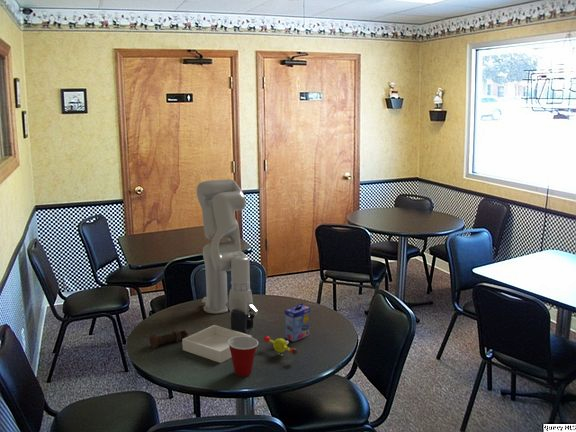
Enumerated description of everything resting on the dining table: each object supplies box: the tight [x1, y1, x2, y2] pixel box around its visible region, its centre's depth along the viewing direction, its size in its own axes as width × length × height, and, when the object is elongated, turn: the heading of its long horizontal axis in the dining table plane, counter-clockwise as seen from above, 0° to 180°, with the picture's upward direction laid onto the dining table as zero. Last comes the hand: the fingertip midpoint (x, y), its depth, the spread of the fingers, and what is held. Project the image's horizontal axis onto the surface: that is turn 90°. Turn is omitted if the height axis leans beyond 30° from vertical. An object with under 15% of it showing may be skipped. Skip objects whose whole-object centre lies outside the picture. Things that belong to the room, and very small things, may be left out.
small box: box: [230, 309, 252, 335], centre depth 243 cm, size 11×6×10 cm, turn 167°
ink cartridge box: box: [284, 302, 311, 342], centre depth 237 cm, size 10×6×14 cm, turn 137°
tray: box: [181, 324, 253, 364], centre depth 228 cm, size 20×18×4 cm
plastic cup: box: [228, 336, 259, 377], centre depth 206 cm, size 11×11×12 cm
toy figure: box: [263, 335, 298, 357], centre depth 220 cm, size 18×6×7 cm, turn 42°
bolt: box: [149, 329, 189, 349], centre depth 233 cm, size 6×5×15 cm
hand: (241, 325), depth 243 cm, fingers closed on small box, 8 cm apart
